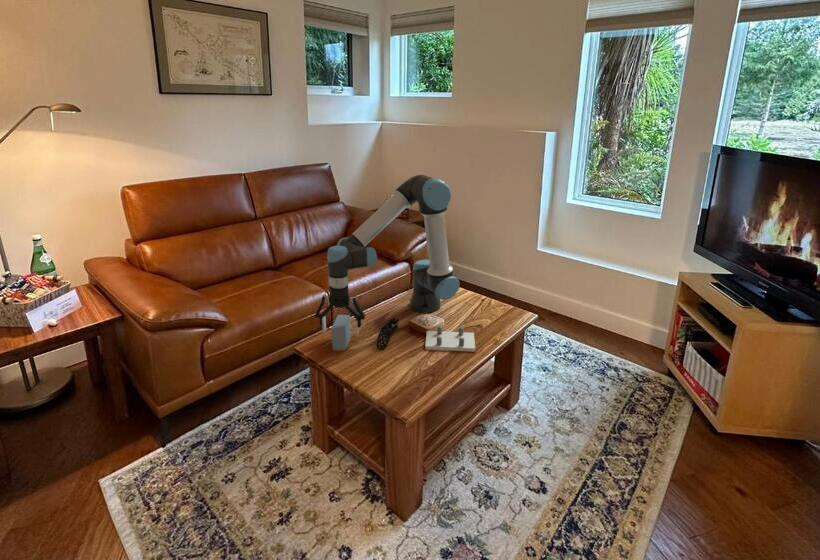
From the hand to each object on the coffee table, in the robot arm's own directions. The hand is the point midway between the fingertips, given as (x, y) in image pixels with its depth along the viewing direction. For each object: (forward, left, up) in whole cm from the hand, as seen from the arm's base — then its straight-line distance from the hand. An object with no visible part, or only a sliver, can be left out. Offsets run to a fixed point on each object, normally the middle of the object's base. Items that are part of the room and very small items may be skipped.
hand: (340, 333), depth 191 cm
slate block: (0, 0, -5) cm, 5 cm away
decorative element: (-18, +8, -5) cm, 20 cm away
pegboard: (-35, +28, -5) cm, 45 cm away
